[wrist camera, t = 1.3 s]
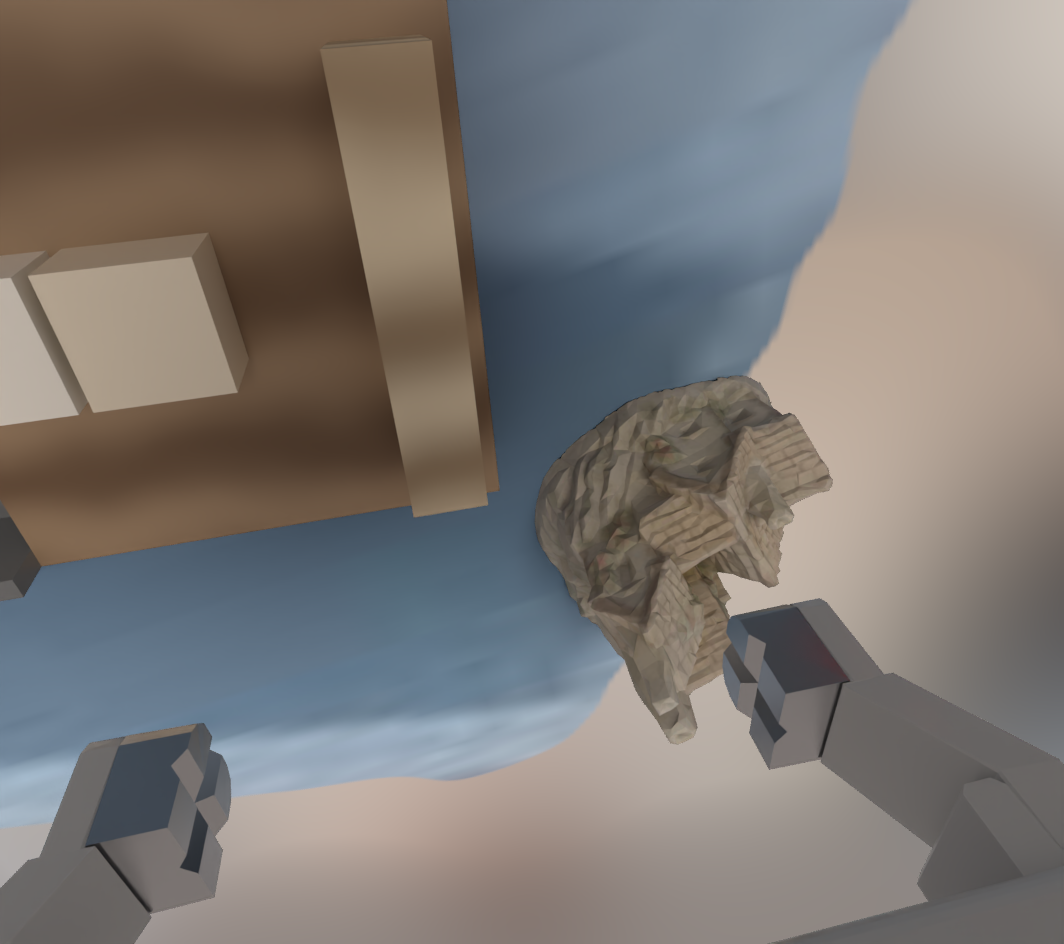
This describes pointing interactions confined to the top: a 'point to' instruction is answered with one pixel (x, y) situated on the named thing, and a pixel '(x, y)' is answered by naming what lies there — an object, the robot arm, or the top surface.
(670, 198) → the top surface
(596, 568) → the ceramic cottage
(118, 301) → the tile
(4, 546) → the box
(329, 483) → the plate
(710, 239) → the top surface
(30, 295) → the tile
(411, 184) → the bar
